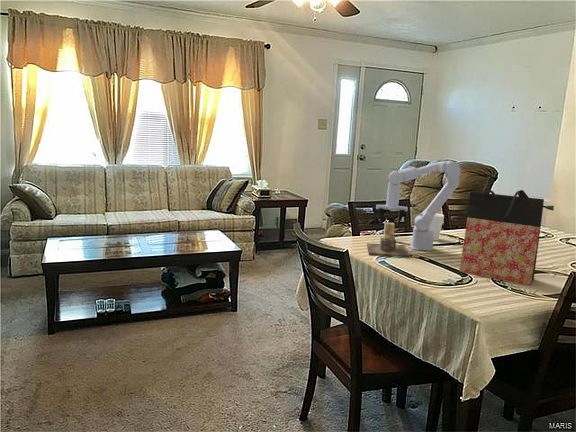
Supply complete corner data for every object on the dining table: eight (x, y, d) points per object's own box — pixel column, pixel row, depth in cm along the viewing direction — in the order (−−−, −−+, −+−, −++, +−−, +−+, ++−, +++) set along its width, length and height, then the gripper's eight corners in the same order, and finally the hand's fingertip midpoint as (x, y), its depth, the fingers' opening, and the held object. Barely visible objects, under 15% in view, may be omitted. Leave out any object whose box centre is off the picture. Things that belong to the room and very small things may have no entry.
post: (392, 240, 216) (393, 222, 214) (393, 242, 212) (394, 224, 210) (383, 240, 216) (384, 222, 215) (384, 242, 212) (385, 224, 211)
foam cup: (437, 242, 236) (440, 217, 234) (420, 239, 242) (422, 214, 239) (443, 239, 244) (446, 214, 241) (426, 236, 249) (429, 212, 247)
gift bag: (457, 273, 185) (467, 186, 178) (466, 265, 196) (475, 183, 190) (540, 289, 169) (554, 194, 162) (544, 280, 180) (557, 190, 174)
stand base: (404, 247, 223) (405, 236, 222) (410, 257, 205) (411, 245, 204) (366, 245, 225) (367, 234, 224) (368, 254, 207) (369, 242, 206)
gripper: (378, 196, 217) (375, 225, 220) (409, 199, 216) (406, 227, 218) (377, 194, 224) (374, 222, 226) (407, 197, 222) (404, 224, 225)
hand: (390, 224), depth 223 cm, fingers open, 7 cm apart
